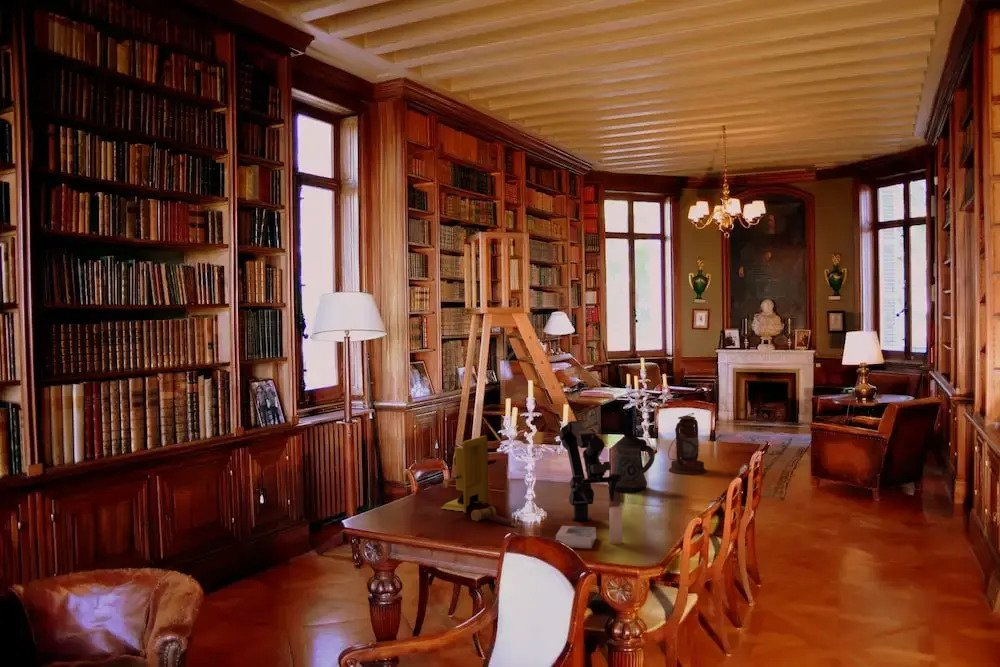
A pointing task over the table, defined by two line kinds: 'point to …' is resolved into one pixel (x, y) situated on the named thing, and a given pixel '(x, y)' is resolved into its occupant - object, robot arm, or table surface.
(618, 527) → the white tall rounded piece
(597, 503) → the table surface
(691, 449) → the lantern
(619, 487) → the beer stein
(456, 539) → the table surface
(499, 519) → the gavel
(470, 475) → the olive upright panel stand
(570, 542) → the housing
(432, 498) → the table surface
